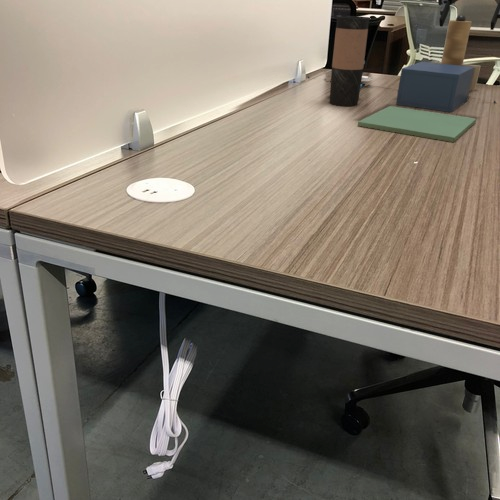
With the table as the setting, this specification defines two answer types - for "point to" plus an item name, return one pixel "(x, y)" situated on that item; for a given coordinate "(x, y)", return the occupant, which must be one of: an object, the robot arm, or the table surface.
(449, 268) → the table surface
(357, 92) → the travel mug
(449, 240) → the table surface
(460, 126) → the mat
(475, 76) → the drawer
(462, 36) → the pepper mill
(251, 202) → the table surface
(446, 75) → the cabinet
